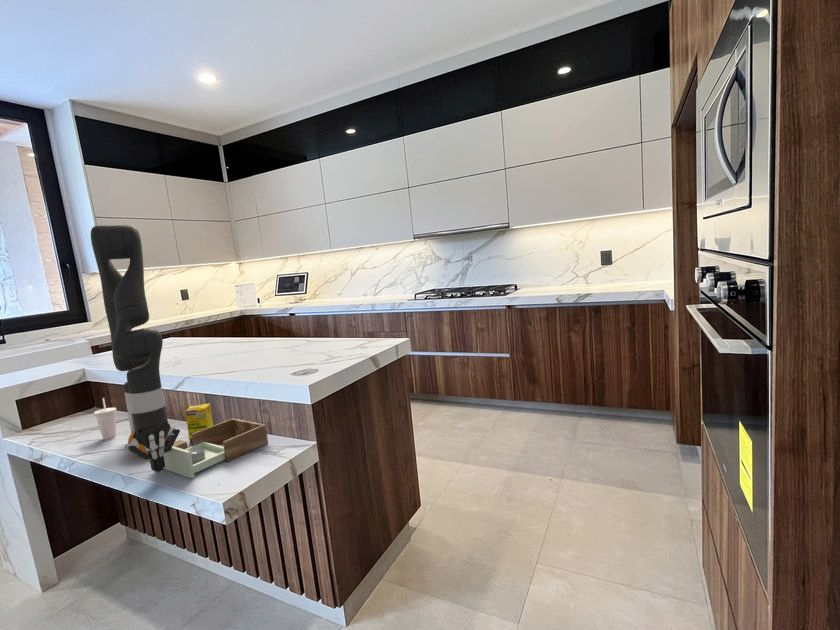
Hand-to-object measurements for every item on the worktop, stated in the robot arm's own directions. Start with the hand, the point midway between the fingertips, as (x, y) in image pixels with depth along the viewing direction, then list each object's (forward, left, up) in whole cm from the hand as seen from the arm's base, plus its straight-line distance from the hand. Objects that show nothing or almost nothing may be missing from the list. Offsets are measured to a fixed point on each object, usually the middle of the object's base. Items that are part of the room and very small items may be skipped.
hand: (158, 470), depth 110 cm
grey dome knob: (0, +9, -1) cm, 9 cm away
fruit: (-24, +9, -3) cm, 26 cm away
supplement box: (-17, +21, -3) cm, 27 cm away
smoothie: (-54, +9, -3) cm, 55 cm away
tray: (0, +11, -2) cm, 11 cm away
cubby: (0, +20, -2) cm, 20 cm away
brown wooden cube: (-11, +10, -2) cm, 15 cm away
